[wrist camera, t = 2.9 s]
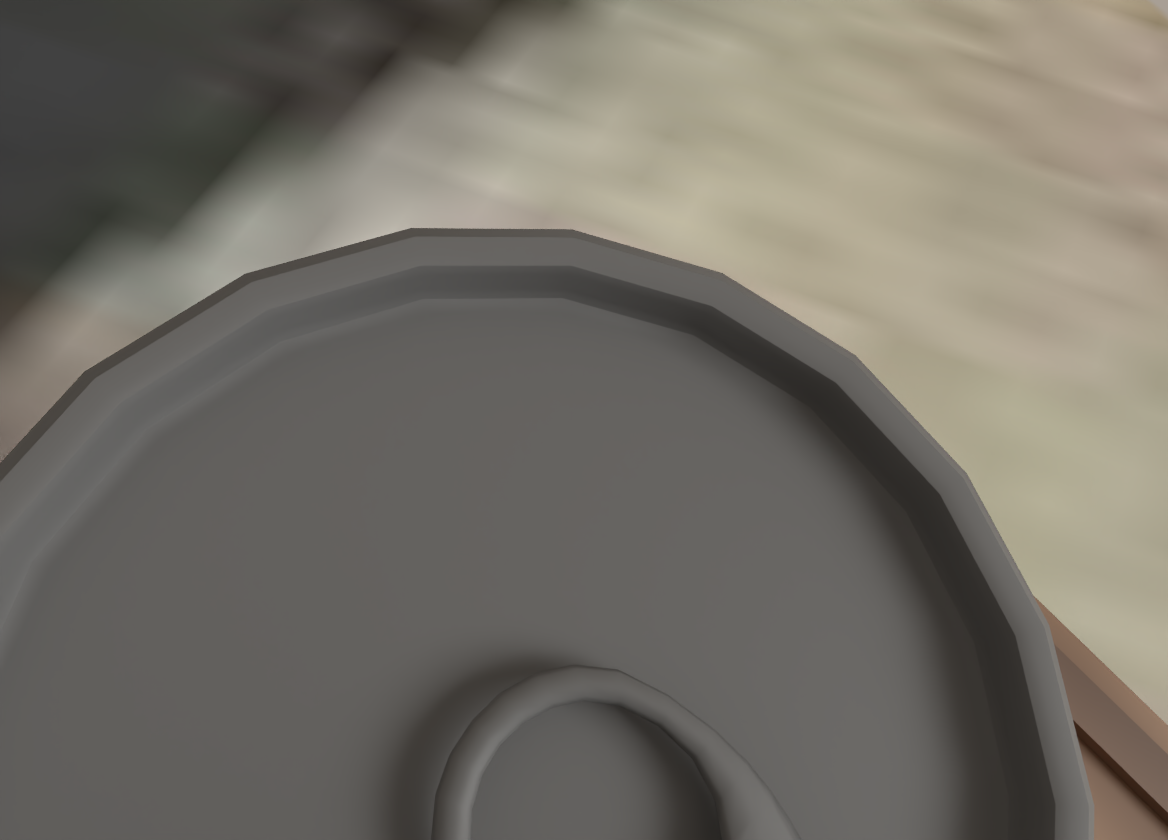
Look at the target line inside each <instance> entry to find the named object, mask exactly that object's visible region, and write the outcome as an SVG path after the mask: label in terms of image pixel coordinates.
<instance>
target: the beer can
mask: <svg viewBox="0 0 1168 840" xmlns="http://www.w3.org/2000/svg"><path fill="white" fill-rule="evenodd" d="M0 840H1094V802H1093V798H1092V794H1091V790H1090V786H1089V782H1088V778H1087V774H1086V770H1085V766H1084V762H1083V758H1082V754H1081V750H1080V746H1079V742H1078V738H1077V734H1076V730H1075V726H1074V722H1073V718H1072V714H1071V710H1070V706H1069V702H1068V698H1067V694H1066V690H1065V686H1064V682H1063V678H1062V674H1061V670H1060V666H1059V662H1058V658H1057V654H1056V650H1055V646H1054V642H1053V638H1052V634H1051V630H1050V626H1049V624H1048V622H1047V620H1046V618H1045V616H1044V615H1043V613H1042V611H1041V609H1040V607H1039V605H1038V604H1037V602H1036V600H1035V598H1034V596H1033V594H1032V592H1031V591H1030V589H1029V587H1028V585H1027V583H1026V581H1025V580H1024V578H1023V576H1022V574H1021V572H1020V570H1019V569H1018V567H1017V565H1016V563H1015V561H1014V559H1013V558H1012V556H1011V554H1010V552H1009V550H1008V548H1007V547H1006V545H1005V543H1004V541H1003V539H1002V537H1001V536H1000V534H999V532H998V530H997V528H996V526H995V525H994V523H993V521H992V519H991V517H990V515H989V514H988V512H987V510H986V508H985V506H984V504H983V503H982V501H981V499H980V497H979V495H978V493H977V492H976V490H975V488H974V486H973V484H972V482H971V480H970V479H969V477H968V475H967V473H966V472H965V471H964V470H963V469H962V468H961V467H960V466H959V465H958V464H957V463H956V462H955V461H954V459H953V458H952V457H951V456H950V455H949V454H948V453H947V452H946V451H945V450H944V449H943V448H942V447H941V446H940V445H939V444H938V442H937V441H936V440H935V439H934V438H933V437H932V436H931V435H930V434H929V433H928V432H927V431H926V430H925V429H924V428H923V427H922V425H921V424H920V423H919V422H918V421H917V420H916V419H915V418H914V417H913V416H912V415H911V414H910V413H909V412H908V411H907V410H906V408H905V407H904V406H903V405H902V404H901V403H900V402H899V401H898V400H897V399H896V398H895V397H894V396H893V395H892V394H891V393H890V392H889V390H888V389H887V388H886V387H885V386H884V385H883V384H882V383H881V382H880V381H879V380H878V379H877V378H876V377H875V376H874V375H873V373H872V372H871V371H870V370H869V369H868V368H867V367H866V366H865V365H864V364H863V363H862V362H861V361H860V360H859V359H858V358H857V356H856V355H854V354H852V353H851V352H849V351H848V350H846V349H844V348H843V347H841V346H839V345H838V344H836V343H835V342H833V341H831V340H830V339H828V338H826V337H825V336H823V335H822V334H820V333H818V332H817V331H815V330H814V329H812V328H810V327H809V326H807V325H805V324H804V323H802V322H801V321H799V320H797V319H796V318H794V317H792V316H791V315H789V314H788V313H786V312H784V311H783V310H781V309H779V308H778V307H776V306H775V305H773V304H771V303H770V302H768V301H766V300H765V299H763V298H762V297H760V296H758V295H757V294H755V293H753V292H752V291H750V290H749V289H747V288H745V287H744V286H742V285H741V284H739V283H737V282H736V281H734V280H732V279H731V278H729V277H728V276H726V275H724V274H723V273H720V272H716V271H713V270H710V269H706V268H703V267H699V266H696V265H692V264H689V263H685V262H682V261H679V260H675V259H672V258H668V257H665V256H661V255H658V254H654V253H651V252H648V251H644V250H641V249H637V248H634V247H630V246H627V245H624V244H620V243H617V242H613V241H610V240H606V239H603V238H599V237H596V236H593V235H589V234H586V233H582V232H579V231H575V230H566V229H444V228H410V229H406V230H403V231H399V232H395V233H392V234H388V235H385V236H381V237H377V238H374V239H370V240H366V241H363V242H359V243H355V244H352V245H348V246H345V247H341V248H337V249H334V250H330V251H326V252H323V253H319V254H316V255H312V256H308V257H305V258H301V259H297V260H294V261H290V262H286V263H283V264H279V265H276V266H272V267H268V268H265V269H261V270H257V271H254V272H250V273H247V274H244V275H243V276H241V277H239V278H238V279H236V280H234V281H233V282H231V283H229V284H228V285H226V286H225V287H223V288H221V289H220V290H218V291H216V292H215V293H213V294H211V295H210V296H208V297H206V298H205V299H203V300H202V301H200V302H198V303H197V304H195V305H193V306H192V307H190V308H188V309H187V310H185V311H183V312H182V313H180V314H178V315H177V316H175V317H174V318H172V319H170V320H169V321H167V322H165V323H164V324H162V325H160V326H159V327H157V328H155V329H154V330H152V331H151V332H149V333H147V334H146V335H144V336H142V337H141V338H139V339H137V340H136V341H134V342H132V343H131V344H129V345H128V346H126V347H124V348H123V349H121V350H119V351H118V352H116V353H114V354H113V355H111V356H109V357H108V358H106V359H105V360H103V361H101V362H100V363H98V364H96V365H95V366H93V367H91V368H90V369H88V370H86V371H85V372H84V373H83V374H82V375H81V376H80V377H79V378H78V380H77V381H76V382H75V383H74V384H73V385H72V386H71V387H70V388H69V389H68V390H67V391H66V393H65V394H64V395H63V396H62V397H61V398H60V399H59V400H58V401H57V402H56V403H55V404H54V406H53V407H52V408H51V409H50V410H49V411H48V412H47V413H46V414H45V415H44V416H43V417H42V419H41V420H40V421H39V422H38V423H37V424H36V425H35V426H34V427H33V428H32V429H31V431H30V432H29V433H28V434H27V435H26V436H25V437H24V438H23V439H22V440H21V441H20V442H19V444H18V445H17V446H16V447H15V448H14V449H13V450H12V451H11V452H10V453H9V454H8V455H7V457H6V458H5V459H4V460H3V461H2V462H1V463H0Z"/></svg>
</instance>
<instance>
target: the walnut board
mask: <svg viewBox="0 0 1168 840" xmlns="http://www.w3.org/2000/svg"><path fill="white" fill-rule="evenodd" d="M1034 598H1035V597H1034ZM1035 600H1036V602H1037V604H1038V605H1039V607H1040V609H1041V611H1042V613H1043V615H1044V616H1045V618H1046V620H1047V622H1048V624H1049V626H1050V630H1051V634H1052V638H1053V642H1054V646H1055V650H1056V654H1057V658H1058V662H1059V666H1060V670H1061V674H1062V678H1063V682H1064V686H1065V690H1066V694H1067V698H1068V702H1069V706H1070V710H1071V714H1072V718H1073V722H1074V726H1075V730H1076V734H1077V738H1078V742H1079V746H1080V750H1081V754H1082V758H1083V762H1084V766H1085V770H1086V774H1087V778H1088V782H1089V786H1090V790H1091V794H1092V798H1093V802H1094V840H1168V725H1167V724H1166V723H1165V722H1164V721H1163V720H1161V719H1160V718H1159V717H1158V716H1157V715H1156V714H1155V713H1154V712H1153V711H1152V710H1151V709H1150V708H1149V707H1148V706H1147V705H1146V704H1145V703H1144V702H1143V701H1142V700H1141V699H1140V698H1139V697H1138V696H1137V695H1136V694H1135V693H1134V692H1133V691H1132V690H1130V689H1129V688H1128V687H1127V686H1126V685H1125V684H1124V683H1123V682H1122V681H1121V680H1120V679H1119V678H1118V677H1117V676H1116V675H1115V674H1114V673H1113V672H1112V671H1111V670H1110V669H1109V668H1108V667H1107V666H1106V665H1105V664H1104V663H1103V662H1102V661H1100V660H1099V659H1098V658H1097V657H1096V656H1095V655H1094V654H1093V653H1092V652H1091V651H1090V650H1089V649H1088V648H1087V647H1086V646H1085V645H1084V644H1083V643H1082V642H1081V641H1080V640H1079V639H1078V638H1077V637H1076V636H1075V635H1074V634H1073V633H1072V632H1071V631H1069V630H1068V629H1067V628H1066V627H1065V626H1064V625H1063V624H1062V623H1061V622H1060V621H1059V620H1058V619H1057V618H1056V617H1055V616H1054V615H1053V614H1052V613H1051V612H1050V611H1049V610H1048V609H1047V608H1046V607H1045V606H1044V605H1043V604H1042V603H1041V602H1039V601H1038V600H1037V599H1036V598H1035Z"/></svg>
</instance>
